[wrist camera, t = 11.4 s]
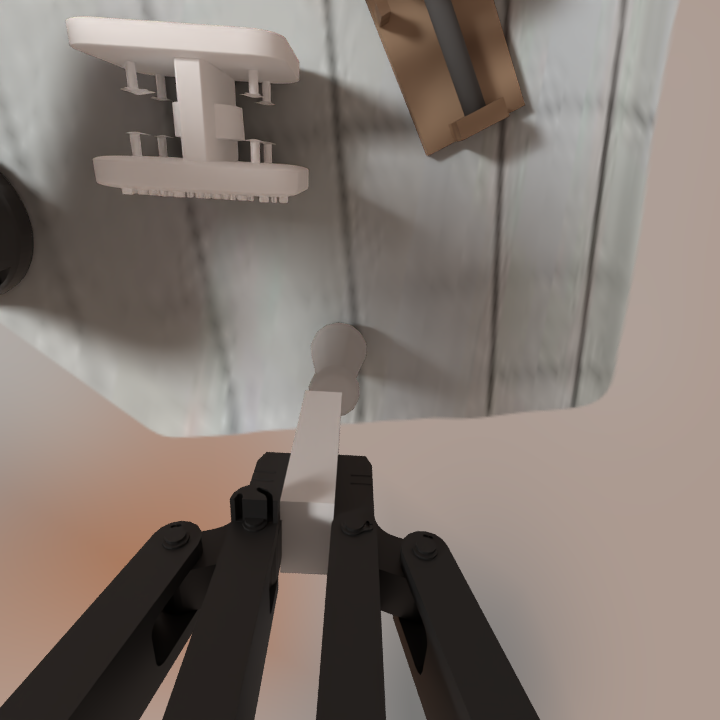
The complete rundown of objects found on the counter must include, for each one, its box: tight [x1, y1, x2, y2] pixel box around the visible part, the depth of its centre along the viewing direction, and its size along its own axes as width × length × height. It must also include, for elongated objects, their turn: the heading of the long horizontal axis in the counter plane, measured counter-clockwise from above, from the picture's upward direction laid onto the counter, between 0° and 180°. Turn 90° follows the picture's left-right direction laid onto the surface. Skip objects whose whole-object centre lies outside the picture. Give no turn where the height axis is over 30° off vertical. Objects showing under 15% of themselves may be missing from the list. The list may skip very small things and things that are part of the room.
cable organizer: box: [66, 16, 309, 203], centre depth 35 cm, size 15×11×12 cm
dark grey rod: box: [424, 0, 486, 116], centre depth 34 cm, size 19×2×2 cm, turn 26°
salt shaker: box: [309, 322, 367, 416], centre depth 43 cm, size 6×6×13 cm
